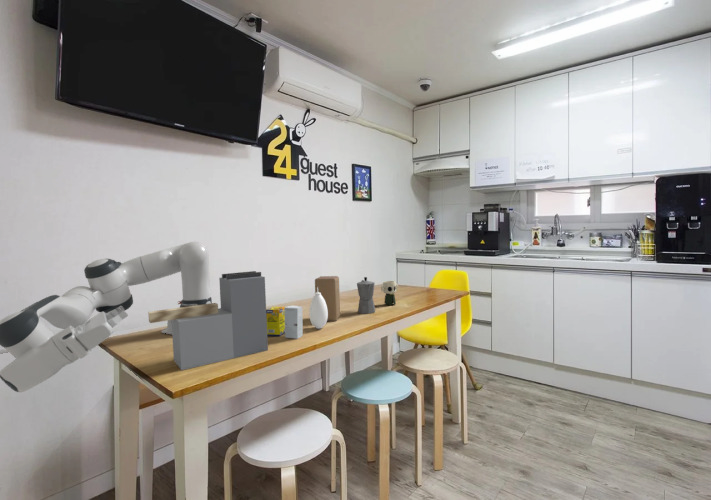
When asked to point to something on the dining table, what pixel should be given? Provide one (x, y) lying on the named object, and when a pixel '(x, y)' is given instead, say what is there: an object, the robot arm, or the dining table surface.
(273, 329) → the supplement box
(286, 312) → the skincare box
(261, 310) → the stepped stand
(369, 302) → the coffeepot
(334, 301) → the wooden block
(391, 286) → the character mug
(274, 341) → the dining table surface
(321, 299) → the sauce bottle
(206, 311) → the maple bar
